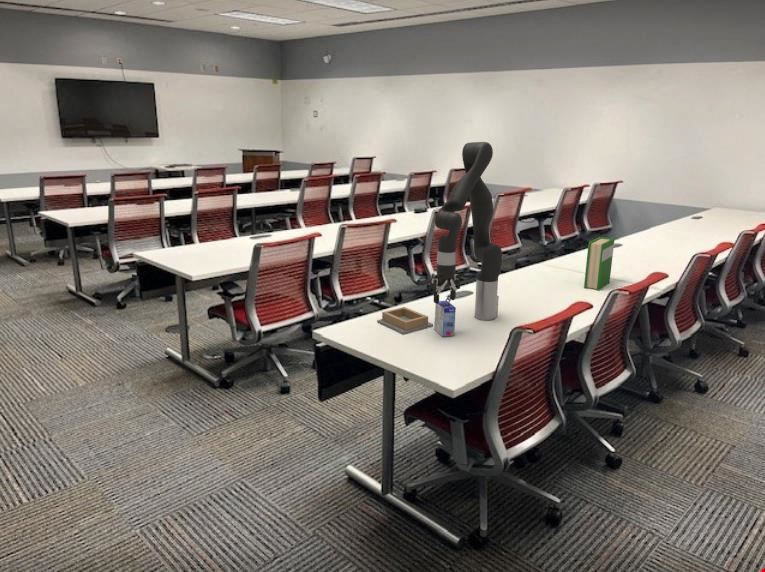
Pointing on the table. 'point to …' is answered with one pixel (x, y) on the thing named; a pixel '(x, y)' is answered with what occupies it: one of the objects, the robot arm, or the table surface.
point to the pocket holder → (404, 320)
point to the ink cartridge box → (445, 318)
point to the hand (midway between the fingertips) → (444, 301)
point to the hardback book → (599, 263)
